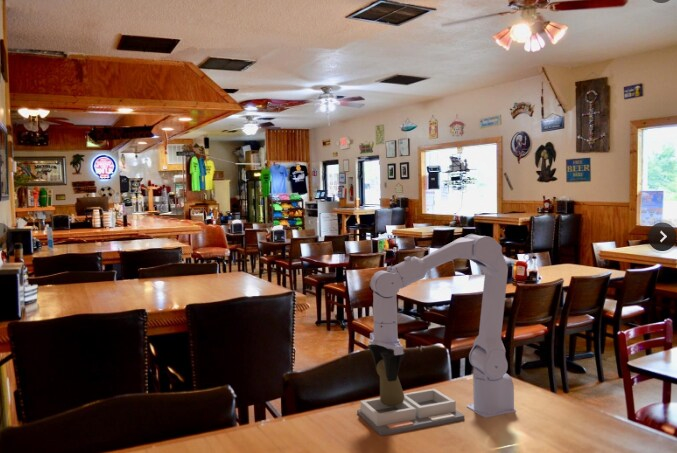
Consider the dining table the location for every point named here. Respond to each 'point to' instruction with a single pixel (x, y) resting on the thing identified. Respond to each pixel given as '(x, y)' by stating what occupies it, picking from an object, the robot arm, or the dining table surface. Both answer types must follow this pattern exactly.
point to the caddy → (410, 412)
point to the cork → (389, 387)
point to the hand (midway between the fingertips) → (386, 376)
